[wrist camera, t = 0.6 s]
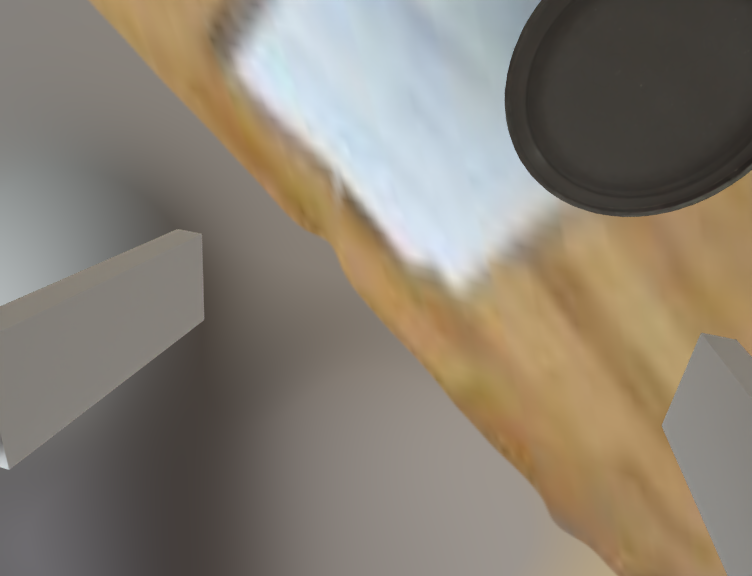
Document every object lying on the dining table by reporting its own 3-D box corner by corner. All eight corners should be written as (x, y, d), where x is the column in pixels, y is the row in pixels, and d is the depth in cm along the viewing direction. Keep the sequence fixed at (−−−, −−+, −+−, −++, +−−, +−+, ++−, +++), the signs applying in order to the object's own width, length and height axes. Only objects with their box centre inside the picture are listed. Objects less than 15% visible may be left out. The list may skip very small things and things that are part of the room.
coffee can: (510, 112, 34) (476, 184, 23) (563, -73, 28) (553, -101, 17) (669, 148, 32) (719, 246, 21) (762, -43, 26) (902, -51, 15)
